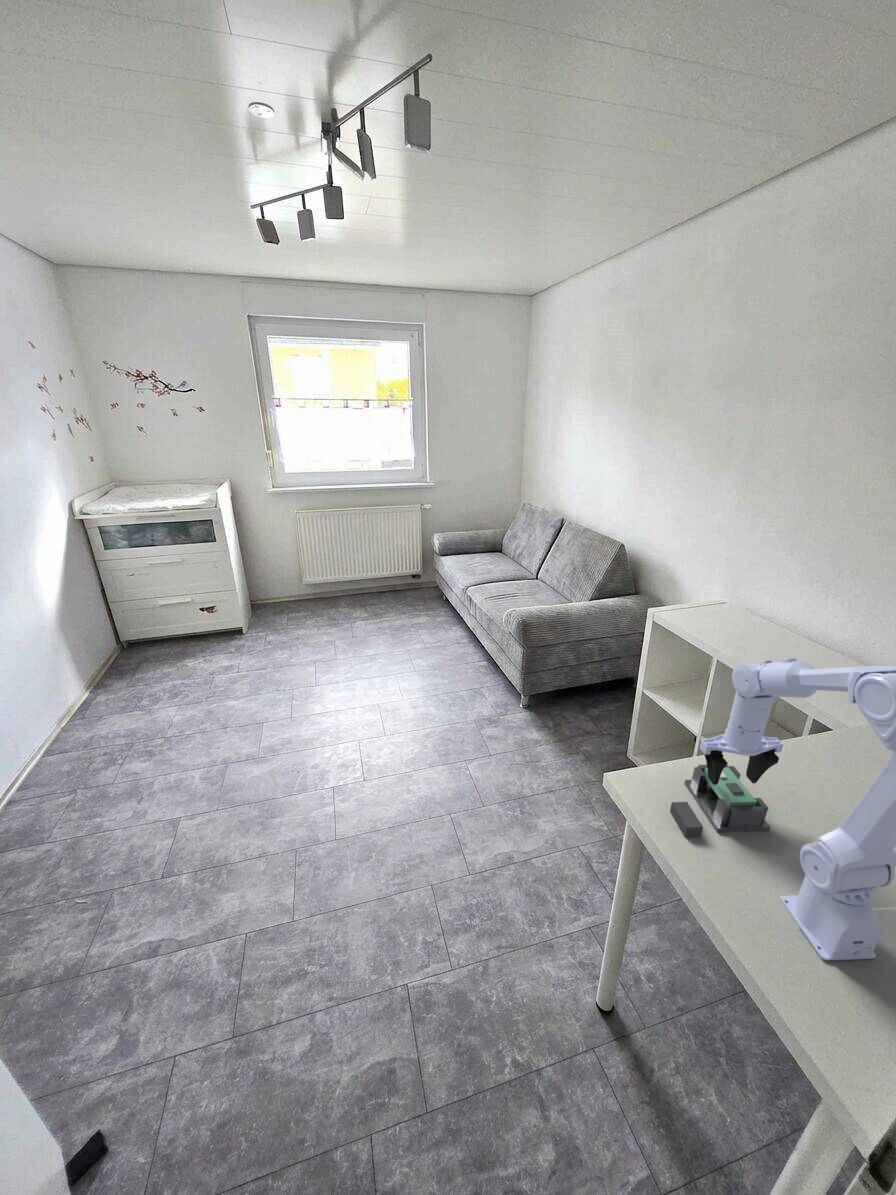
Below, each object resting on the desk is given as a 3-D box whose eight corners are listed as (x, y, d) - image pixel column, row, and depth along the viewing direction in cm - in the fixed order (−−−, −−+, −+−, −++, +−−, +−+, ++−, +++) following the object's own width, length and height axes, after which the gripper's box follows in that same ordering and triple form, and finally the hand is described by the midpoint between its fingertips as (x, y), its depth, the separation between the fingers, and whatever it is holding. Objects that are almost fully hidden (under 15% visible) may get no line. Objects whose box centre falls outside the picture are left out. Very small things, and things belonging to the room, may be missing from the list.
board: (726, 775, 98) (729, 765, 97) (754, 809, 90) (757, 799, 89) (703, 775, 98) (705, 765, 97) (728, 810, 89) (731, 799, 88)
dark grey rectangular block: (700, 836, 88) (703, 827, 87) (684, 837, 88) (687, 827, 87) (684, 811, 94) (687, 801, 93) (669, 811, 94) (671, 802, 93)
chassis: (730, 782, 101) (735, 763, 99) (769, 830, 89) (775, 810, 87) (684, 783, 100) (688, 764, 99) (716, 832, 89) (722, 812, 87)
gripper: (771, 708, 91) (755, 764, 96) (697, 710, 91) (684, 766, 96) (797, 731, 85) (778, 790, 90) (717, 734, 84) (703, 793, 89)
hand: (731, 780), depth 92 cm, fingers open, 7 cm apart
